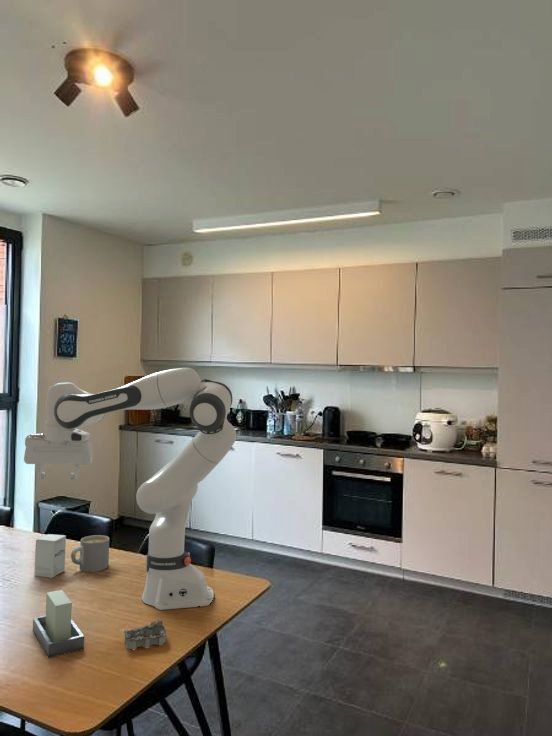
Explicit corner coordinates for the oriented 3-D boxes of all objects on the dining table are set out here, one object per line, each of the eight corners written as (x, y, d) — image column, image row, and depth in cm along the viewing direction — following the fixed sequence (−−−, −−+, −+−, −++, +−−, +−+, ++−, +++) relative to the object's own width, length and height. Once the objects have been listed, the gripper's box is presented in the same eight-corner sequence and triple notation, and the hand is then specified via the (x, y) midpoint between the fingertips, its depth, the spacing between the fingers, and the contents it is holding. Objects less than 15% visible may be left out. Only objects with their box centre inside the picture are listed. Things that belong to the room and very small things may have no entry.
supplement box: (52, 578, 189) (54, 541, 189) (33, 576, 190) (34, 539, 190) (65, 570, 196) (66, 535, 196) (46, 568, 198) (47, 533, 198)
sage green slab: (60, 626, 151) (62, 589, 152) (70, 641, 143) (71, 602, 143) (45, 629, 149) (46, 592, 149) (54, 645, 141) (55, 605, 141)
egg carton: (163, 634, 151) (164, 619, 151) (167, 647, 144) (168, 631, 144) (123, 638, 148) (124, 623, 148) (125, 652, 141) (125, 636, 141)
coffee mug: (104, 560, 208) (105, 533, 208) (111, 568, 199) (112, 541, 200) (67, 566, 201) (68, 538, 201) (72, 574, 192) (73, 545, 193)
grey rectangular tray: (65, 622, 156) (65, 611, 156) (83, 649, 141) (84, 636, 141) (32, 630, 151) (33, 617, 151) (48, 658, 136) (48, 644, 136)
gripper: (21, 434, 169) (19, 480, 168) (90, 436, 171) (88, 481, 170) (28, 432, 175) (27, 476, 175) (95, 433, 177) (93, 477, 177)
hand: (58, 478), depth 173 cm, fingers open, 8 cm apart
